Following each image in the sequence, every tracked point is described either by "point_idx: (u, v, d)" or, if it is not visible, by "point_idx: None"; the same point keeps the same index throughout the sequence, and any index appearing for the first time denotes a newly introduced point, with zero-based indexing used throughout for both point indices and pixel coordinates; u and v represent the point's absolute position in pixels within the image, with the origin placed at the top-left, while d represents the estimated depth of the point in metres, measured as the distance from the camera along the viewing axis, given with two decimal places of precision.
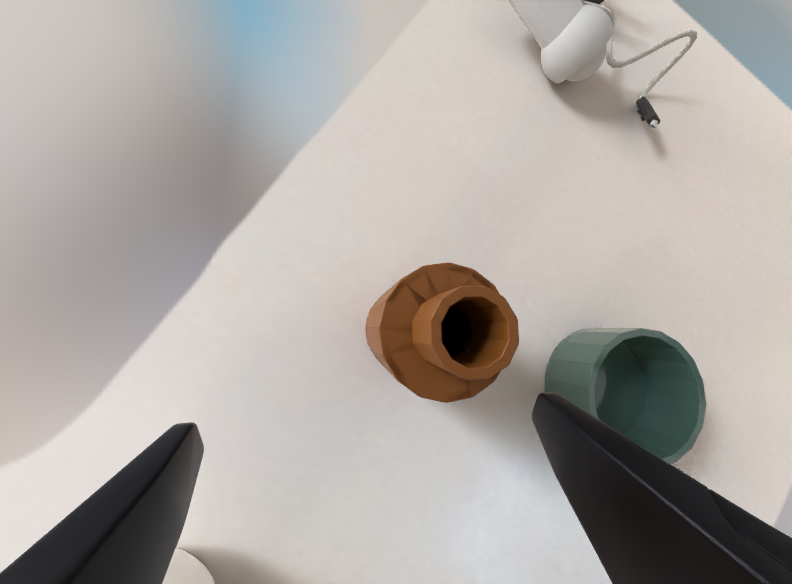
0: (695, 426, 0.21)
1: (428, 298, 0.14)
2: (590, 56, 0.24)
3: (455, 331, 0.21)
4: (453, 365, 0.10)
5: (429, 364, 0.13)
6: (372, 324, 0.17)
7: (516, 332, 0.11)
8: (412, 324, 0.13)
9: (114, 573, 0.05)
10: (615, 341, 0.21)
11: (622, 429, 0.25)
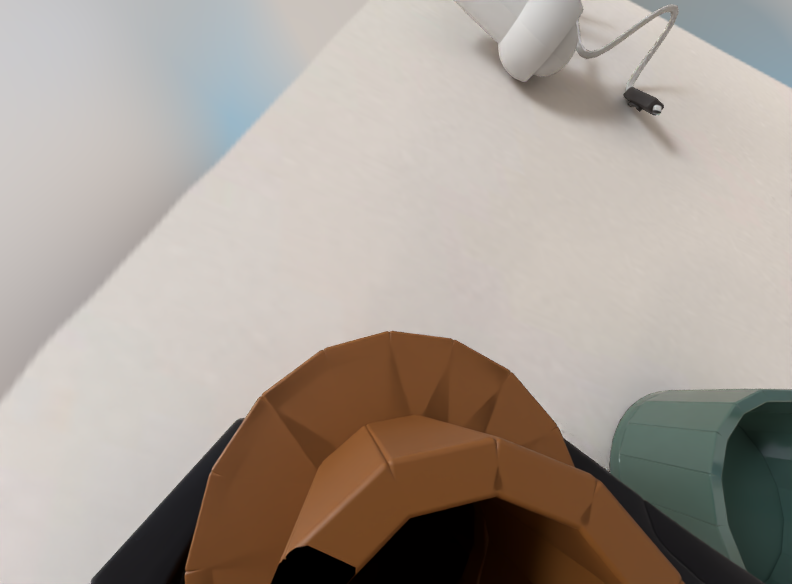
0: None
1: (340, 440, 0.05)
2: (561, 37, 0.19)
3: None
4: None
5: None
6: None
7: None
8: None
9: None
10: (731, 421, 0.12)
11: (766, 567, 0.14)
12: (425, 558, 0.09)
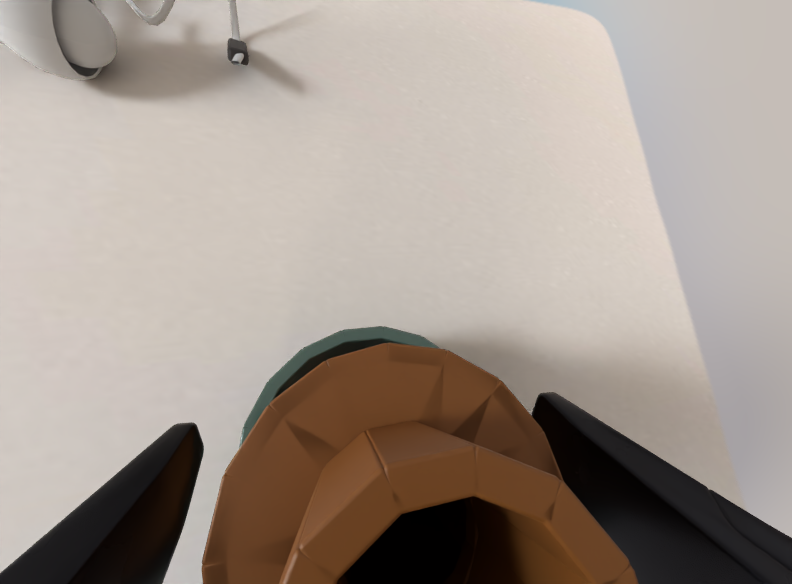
0: None
1: (342, 445, 0.05)
2: (49, 19, 0.15)
3: None
4: None
5: None
6: None
7: None
8: None
9: (114, 573, 0.05)
10: (261, 405, 0.11)
11: None
12: (423, 555, 0.09)
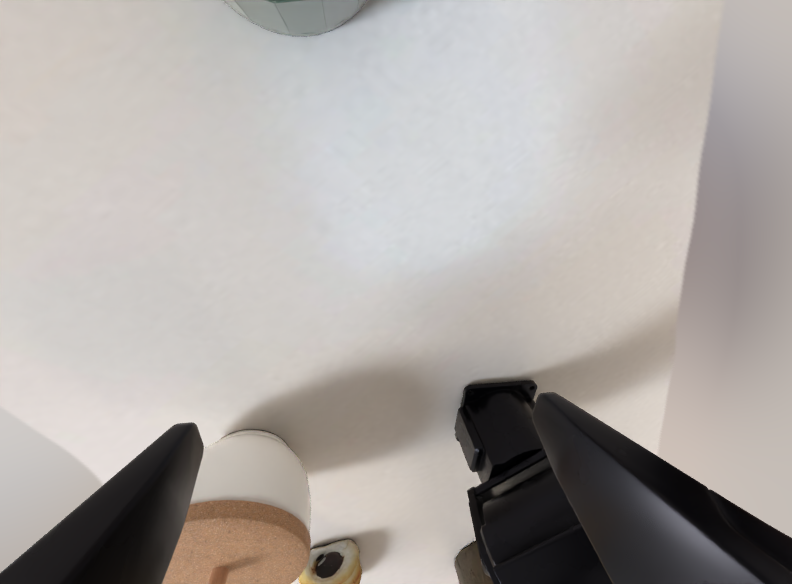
0: None
1: None
2: None
3: None
4: None
5: None
6: None
7: None
8: None
9: (114, 573, 0.05)
10: None
11: None
12: None
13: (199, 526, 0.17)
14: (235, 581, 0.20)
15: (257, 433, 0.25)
